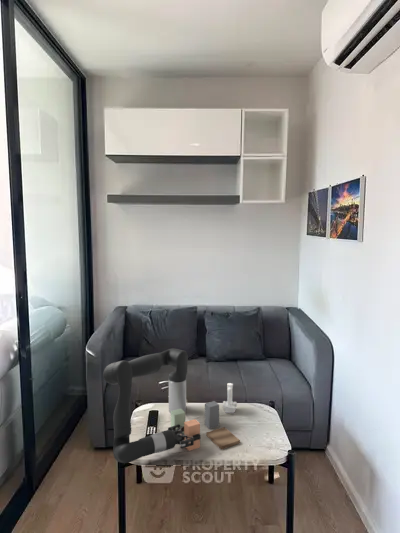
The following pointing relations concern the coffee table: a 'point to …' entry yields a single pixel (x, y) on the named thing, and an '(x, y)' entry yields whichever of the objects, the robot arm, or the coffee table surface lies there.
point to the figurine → (229, 401)
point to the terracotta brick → (192, 432)
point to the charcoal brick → (211, 414)
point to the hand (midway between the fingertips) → (195, 431)
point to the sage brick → (177, 418)
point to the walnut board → (222, 438)
